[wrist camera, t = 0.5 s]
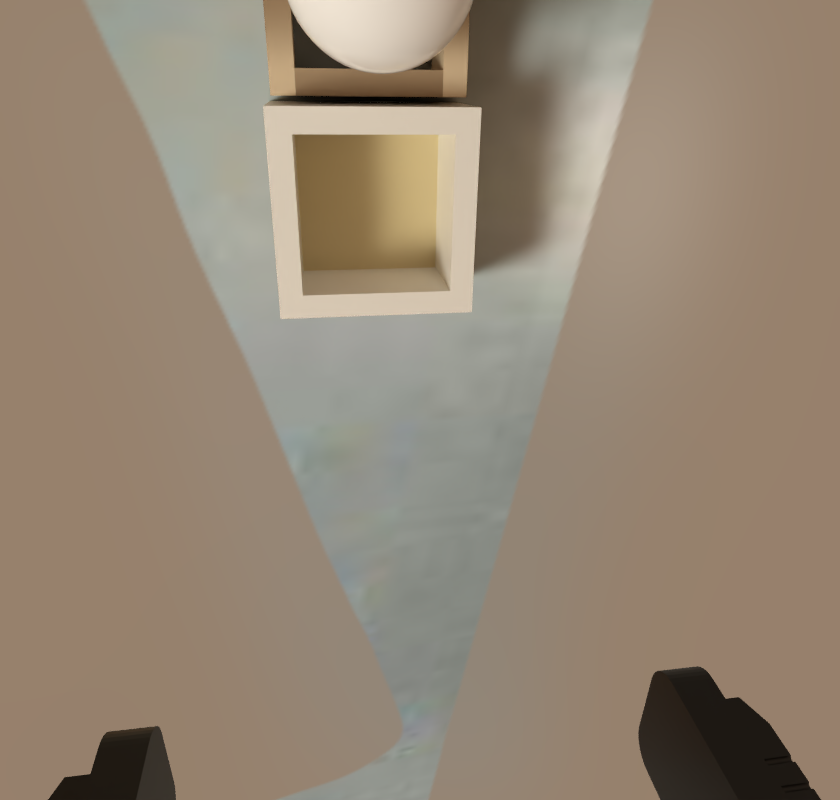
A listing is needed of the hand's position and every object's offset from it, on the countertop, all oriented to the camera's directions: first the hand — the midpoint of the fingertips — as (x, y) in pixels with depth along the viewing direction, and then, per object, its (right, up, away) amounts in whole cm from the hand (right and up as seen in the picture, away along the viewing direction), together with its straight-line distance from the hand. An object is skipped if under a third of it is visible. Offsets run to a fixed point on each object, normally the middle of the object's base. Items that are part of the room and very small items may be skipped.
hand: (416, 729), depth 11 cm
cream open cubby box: (-3, +15, +21) cm, 26 cm away
